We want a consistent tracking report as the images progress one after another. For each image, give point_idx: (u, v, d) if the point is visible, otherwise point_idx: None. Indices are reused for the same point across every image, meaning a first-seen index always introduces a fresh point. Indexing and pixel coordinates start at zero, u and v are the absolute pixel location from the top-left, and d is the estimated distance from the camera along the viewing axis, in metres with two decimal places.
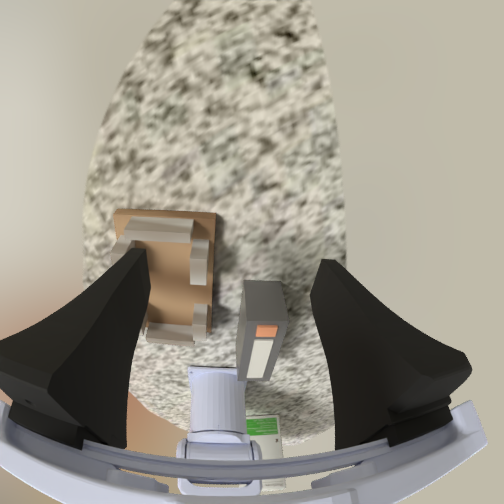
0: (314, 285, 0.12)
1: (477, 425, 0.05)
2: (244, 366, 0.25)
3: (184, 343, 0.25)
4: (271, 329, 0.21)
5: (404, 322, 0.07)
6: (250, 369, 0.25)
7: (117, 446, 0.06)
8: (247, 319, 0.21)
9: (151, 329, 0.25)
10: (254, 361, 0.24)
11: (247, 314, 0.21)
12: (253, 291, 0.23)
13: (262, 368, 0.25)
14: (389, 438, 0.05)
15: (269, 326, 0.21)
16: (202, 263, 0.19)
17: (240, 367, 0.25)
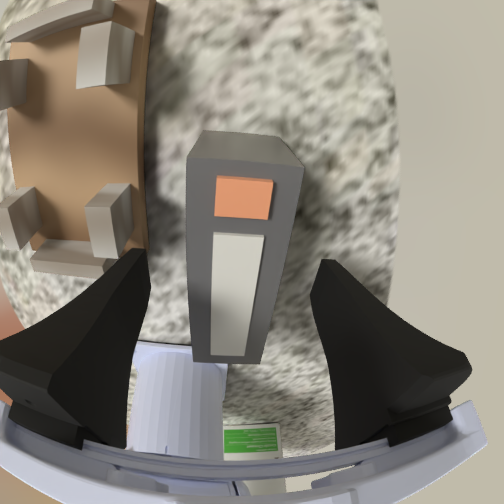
0: (314, 285, 0.12)
1: (477, 425, 0.05)
2: (201, 325, 0.11)
3: (87, 271, 0.11)
4: (256, 188, 0.08)
5: (404, 322, 0.07)
6: (215, 332, 0.11)
7: (117, 446, 0.06)
8: (189, 157, 0.07)
9: (43, 248, 0.12)
10: (220, 308, 0.10)
11: (193, 151, 0.08)
12: (218, 137, 0.10)
13: (242, 332, 0.11)
14: (390, 438, 0.05)
15: (251, 179, 0.08)
16: (102, 32, 0.05)
17: (192, 326, 0.11)
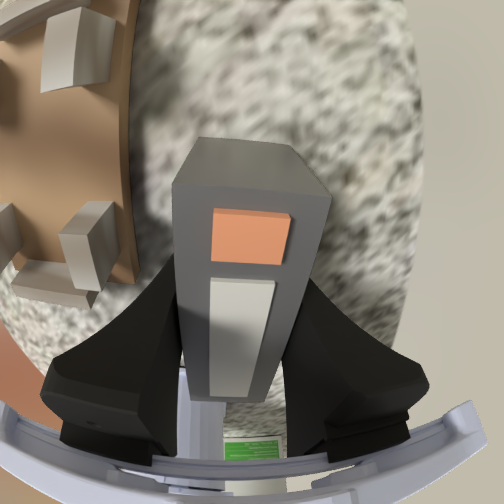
0: None
1: (477, 425, 0.05)
2: (199, 370, 0.09)
3: (70, 300, 0.10)
4: (267, 227, 0.06)
5: (354, 326, 0.07)
6: (214, 377, 0.09)
7: (170, 455, 0.07)
8: (176, 182, 0.05)
9: (24, 271, 0.10)
10: (221, 356, 0.09)
11: (181, 173, 0.06)
12: (217, 148, 0.08)
13: (246, 377, 0.09)
14: (329, 453, 0.05)
15: (261, 214, 0.06)
16: (70, 21, 0.04)
17: (188, 370, 0.09)
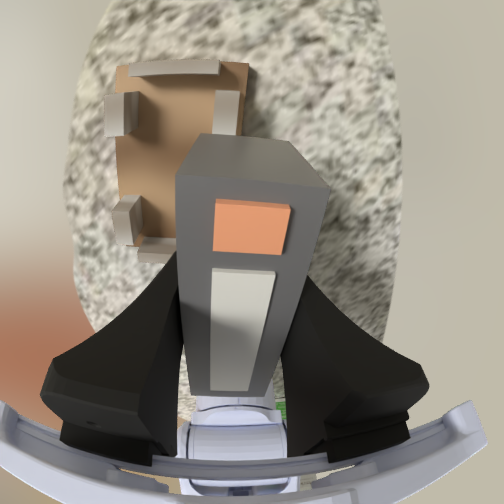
0: None
1: (477, 425, 0.05)
2: (200, 363, 0.09)
3: None
4: (267, 217, 0.06)
5: (354, 326, 0.07)
6: (214, 370, 0.10)
7: (170, 455, 0.07)
8: (179, 173, 0.06)
9: (146, 244, 0.18)
10: (221, 348, 0.09)
11: (184, 165, 0.06)
12: (218, 143, 0.08)
13: (246, 370, 0.10)
14: (328, 453, 0.05)
15: (261, 205, 0.06)
16: (233, 98, 0.12)
17: (189, 364, 0.09)
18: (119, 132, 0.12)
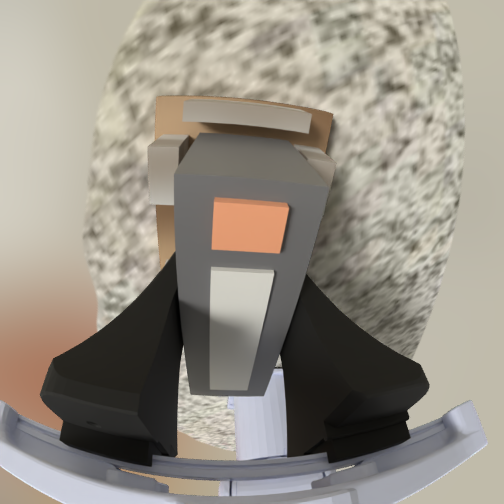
0: None
1: (477, 425, 0.05)
2: (199, 362, 0.09)
3: None
4: (266, 215, 0.06)
5: (354, 326, 0.07)
6: (214, 369, 0.10)
7: (170, 455, 0.07)
8: (178, 172, 0.06)
9: None
10: (221, 347, 0.09)
11: (183, 164, 0.06)
12: (217, 142, 0.08)
13: (246, 369, 0.10)
14: (328, 453, 0.05)
15: (259, 203, 0.06)
16: (327, 170, 0.10)
17: (188, 363, 0.09)
18: (171, 200, 0.10)
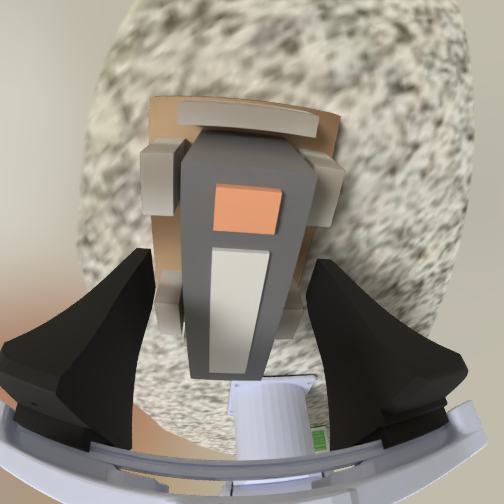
0: (310, 285, 0.12)
1: (477, 425, 0.05)
2: (199, 343, 0.10)
3: None
4: (261, 200, 0.07)
5: (399, 322, 0.07)
6: (213, 351, 0.10)
7: (123, 447, 0.06)
8: (185, 161, 0.06)
9: None
10: (220, 327, 0.09)
11: (189, 155, 0.07)
12: (218, 137, 0.09)
13: (244, 350, 0.10)
14: (383, 440, 0.05)
15: (256, 188, 0.07)
16: (335, 178, 0.09)
17: (189, 344, 0.10)
18: (165, 210, 0.10)
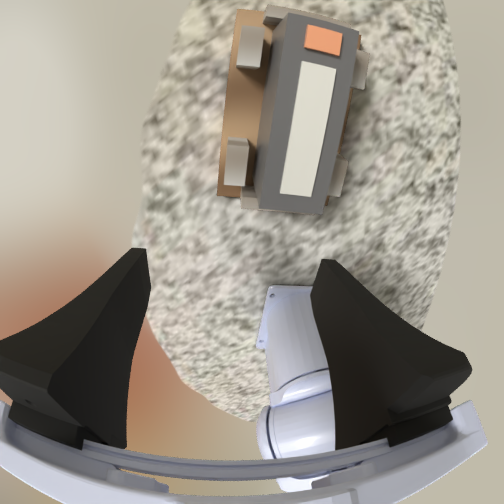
0: (314, 285, 0.12)
1: (477, 425, 0.05)
2: (278, 152, 0.12)
3: None
4: (332, 35, 0.09)
5: (404, 322, 0.07)
6: (289, 159, 0.12)
7: (117, 446, 0.06)
8: (289, 14, 0.08)
9: (247, 191, 0.17)
10: (299, 129, 0.11)
11: None
12: None
13: (314, 161, 0.12)
14: (389, 438, 0.05)
15: (328, 30, 0.09)
16: (364, 57, 0.11)
17: (269, 154, 0.12)
18: (254, 62, 0.12)
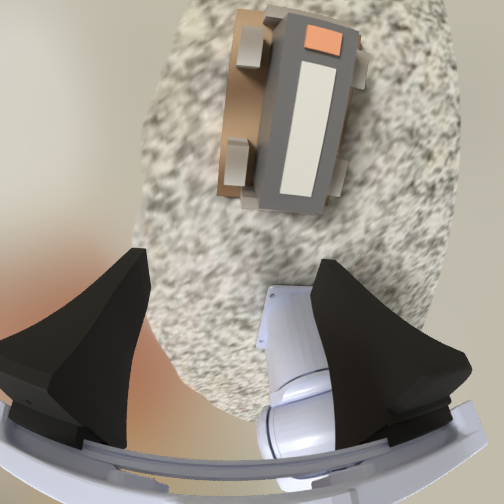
0: (314, 285, 0.12)
1: (477, 425, 0.05)
2: (278, 152, 0.12)
3: None
4: (332, 35, 0.09)
5: (404, 322, 0.07)
6: (289, 159, 0.12)
7: (117, 446, 0.06)
8: (289, 14, 0.08)
9: (247, 191, 0.17)
10: (299, 129, 0.11)
11: None
12: None
13: (314, 161, 0.12)
14: (389, 438, 0.05)
15: (328, 30, 0.09)
16: (364, 57, 0.11)
17: (269, 154, 0.12)
18: (254, 62, 0.12)
